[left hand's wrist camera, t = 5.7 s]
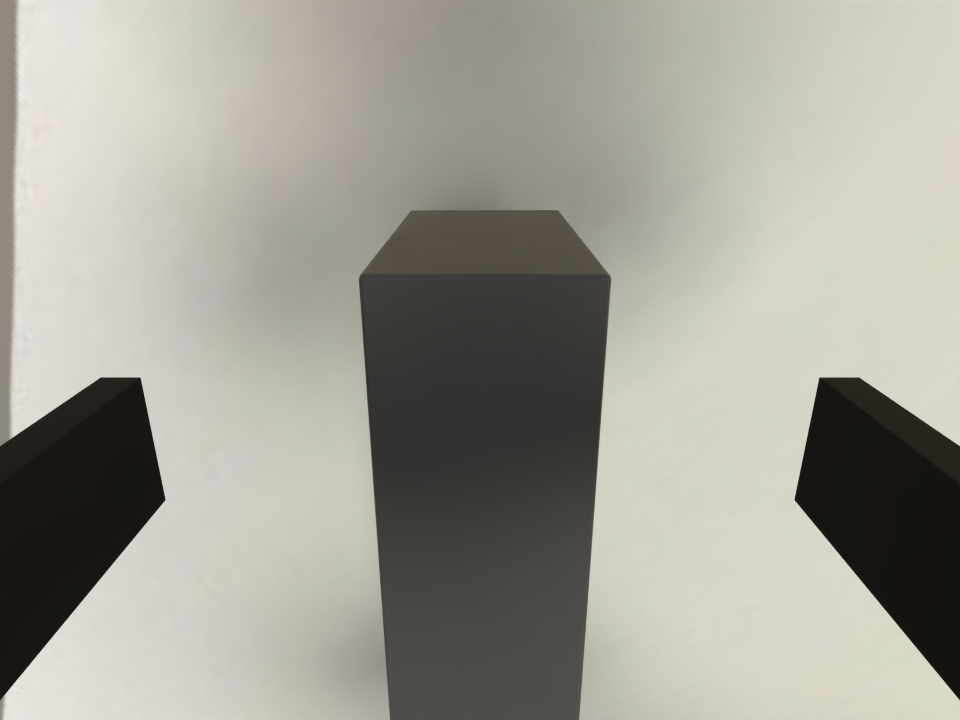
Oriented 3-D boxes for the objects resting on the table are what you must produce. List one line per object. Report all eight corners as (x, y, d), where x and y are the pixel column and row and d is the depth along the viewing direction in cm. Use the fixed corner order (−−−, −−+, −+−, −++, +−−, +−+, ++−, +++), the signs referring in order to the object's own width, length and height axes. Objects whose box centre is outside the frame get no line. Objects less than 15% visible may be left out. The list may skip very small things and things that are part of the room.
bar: (409, 210, 20) (357, 275, 12) (559, 210, 20) (612, 275, 12) (434, 818, 30) (415, 1084, 22) (534, 818, 30) (552, 1085, 22)
